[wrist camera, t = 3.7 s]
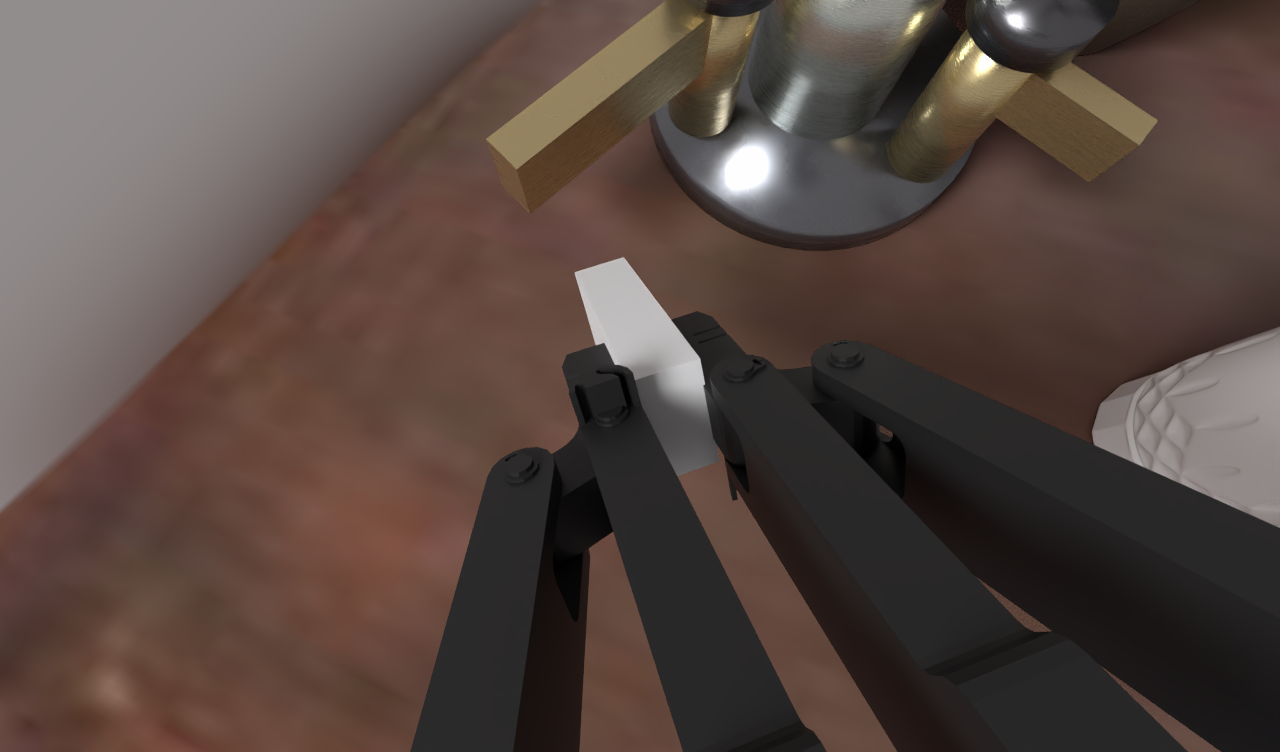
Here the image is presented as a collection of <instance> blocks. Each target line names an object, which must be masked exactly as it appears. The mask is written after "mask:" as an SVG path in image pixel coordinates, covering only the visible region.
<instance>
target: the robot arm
mask: <svg viewBox="0 0 1280 752" xmlns="http://www.w3.org/2000/svg"><path fill="white" fill-rule="evenodd" d="M575 275H576V279H577V282H578V286H579V289H580V292H581V296H582V299H583V303H584V306H585V309H586V313H587V316H588V320H589V323H590V327H591V330H592V333H593V337H594V340H595V344H596V346H593V347H590V348H586V349H583V350H580V351H577V352H574V353H571V354H568V355H567V356H566V358H565V361H564V363H563V366H562V369H563V372H564V375H565V378H566V381H567V385H568V388H569V395H570V398H571V401H572V404H573V407H574V410H575V413H576V416H577V419H578V422H579V427H578V431H577V433H576V434H575V436H574V437H573V439H572V440H571V441H570V442H569V443H568V444H567V445H565V446H564V447H562V448H561V449H559V450H558V451H556V452H554V453H553V454H551V453H550V452H549V451H548V450H546V449H542V448H538V447H533V448H524V449H521V450H517V451H514V452H512V453H510V454H508V455H507V456H505V457H503V458H502V459H500V460H499V461H498V462H497V463H496V464H495V465H494V466H493V467H492V469H491V471H490V473H489V475H488V477H487V481H486V484H485V488H484V491H483V495H482V498H481V502H480V505H479V509H478V513H477V516H476V520H475V523H474V527H473V530H472V534H471V538H470V541H469V545H468V548H467V552H466V555H465V559H464V563H463V566H462V570H461V573H460V577H459V580H458V584H457V588H456V591H455V595H454V598H453V602H452V605H451V609H450V612H449V616H448V620H447V623H446V627H445V630H444V634H443V637H442V641H441V645H440V648H439V652H438V655H437V659H436V662H435V666H434V670H433V673H432V677H431V680H430V684H429V687H428V691H427V695H426V698H425V702H424V705H423V709H422V712H421V716H420V719H419V723H418V727H417V730H416V734H415V737H414V741H413V744H412V748H411V752H579V745H580V727H581V709H582V692H583V674H584V656H585V638H586V621H587V603H588V585H589V567H590V553H589V548H590V547H591V546H593V545H594V544H595V543H597V542H598V541H600V540H601V539H603V538H604V537H606V536H607V535H609V534H610V533H612V532H614V535H615V538H616V541H617V545H618V548H619V551H620V554H621V557H622V560H623V563H624V567H625V570H626V573H627V576H628V579H629V582H630V586H631V589H632V592H633V595H634V598H635V601H636V604H637V608H638V611H639V614H640V617H641V620H642V623H643V627H644V630H645V633H646V636H647V639H648V642H649V645H650V649H651V652H652V655H653V658H654V661H655V664H656V668H657V671H658V674H659V677H660V680H661V683H662V686H663V690H664V693H665V696H666V699H667V702H668V705H669V708H670V712H671V715H672V718H673V721H674V724H675V727H676V731H677V734H678V737H679V740H680V743H681V746H682V749H683V752H826V750H825V748H824V746H823V745H822V743H821V741H820V740H819V739H818V737H817V736H816V735H815V733H814V732H813V731H812V730H810V729H808V728H806V727H805V726H804V724H803V723H802V722H801V720H800V718H799V716H798V715H797V713H796V711H795V709H794V707H793V705H792V703H791V701H790V699H789V697H788V695H787V693H786V691H785V689H784V687H783V685H782V683H781V681H780V679H779V677H778V675H777V673H776V671H775V669H774V667H773V665H772V663H771V661H770V659H769V657H768V655H767V653H766V651H765V649H764V648H763V646H762V644H761V642H760V640H759V638H758V636H757V634H756V632H755V630H754V628H753V626H752V624H751V622H750V620H749V618H748V616H747V614H746V612H745V610H744V608H743V606H742V604H741V602H740V600H739V598H738V596H737V594H736V592H735V590H734V588H733V586H732V584H731V582H730V580H729V578H728V576H727V574H726V572H725V570H724V568H723V566H722V564H721V562H720V560H719V558H718V556H717V554H716V552H715V550H714V548H713V546H712V544H711V542H710V540H709V538H708V536H707V534H706V532H705V530H704V528H703V526H702V524H701V522H700V521H699V519H698V517H697V515H696V513H695V511H694V509H693V507H692V505H691V503H690V501H689V499H688V497H687V495H686V493H685V491H684V489H683V487H682V485H681V483H680V481H679V479H678V477H677V476H679V475H682V474H685V473H687V472H690V471H693V470H696V469H699V468H702V467H704V466H707V465H710V464H713V463H716V462H719V456H718V451H717V445H718V447H719V448H720V450H721V451H722V453H723V455H724V458H725V464H726V469H727V475H728V480H729V486H730V491H731V496H732V499H733V501H734V500H737V499H738V498H737V493H736V490H738V492H739V494H740V495H741V497H742V499H743V500H744V502H745V503H746V505H747V507H748V508H749V510H750V512H751V513H752V515H753V516H754V518H755V520H756V521H757V523H758V525H759V526H760V528H761V530H762V531H763V533H764V534H765V536H766V538H767V539H768V541H769V543H770V544H771V546H772V548H773V549H774V551H775V552H776V554H777V556H778V557H779V559H780V561H781V562H782V564H783V565H784V567H785V569H786V570H787V572H788V574H789V575H790V577H791V579H792V580H793V582H794V583H795V585H796V587H797V588H798V590H799V592H800V593H801V595H802V597H803V598H804V600H805V601H806V603H807V605H808V606H809V608H810V610H811V611H812V613H813V614H814V616H815V618H816V619H817V621H818V623H819V624H820V626H821V628H822V629H823V631H824V632H825V634H826V636H827V637H828V639H829V641H830V642H831V644H832V646H833V647H834V649H835V650H836V652H837V654H838V655H839V657H840V659H841V660H842V662H843V663H844V665H845V667H846V668H847V670H848V672H849V673H850V675H851V677H852V678H853V680H854V681H855V683H856V685H857V686H858V688H859V690H860V691H861V693H862V695H863V696H864V698H865V699H866V701H867V703H868V704H869V706H870V708H871V709H872V711H873V712H874V714H875V716H876V717H877V719H878V721H879V722H880V724H881V726H882V727H883V729H884V730H885V732H886V734H887V735H888V737H889V739H890V740H891V742H892V744H893V745H894V747H895V748H896V750H897V752H1187V751H1186V750H1185V749H1184V748H1183V747H1182V746H1181V745H1180V744H1179V743H1178V742H1177V741H1176V740H1175V739H1174V738H1173V737H1172V736H1171V735H1170V734H1169V733H1168V732H1167V731H1166V730H1165V729H1164V728H1163V727H1162V726H1161V725H1160V724H1159V723H1158V722H1157V721H1156V720H1155V719H1154V718H1153V717H1152V716H1151V715H1150V714H1149V713H1148V712H1147V711H1146V710H1145V709H1144V708H1143V707H1142V706H1141V705H1140V704H1139V703H1137V702H1136V701H1135V700H1134V699H1133V698H1132V697H1131V696H1130V695H1129V694H1128V693H1127V692H1126V691H1125V690H1124V689H1123V688H1122V687H1121V686H1120V685H1119V684H1118V683H1117V682H1116V681H1115V680H1114V679H1113V678H1112V677H1111V676H1110V675H1109V674H1108V673H1107V672H1106V671H1105V670H1104V669H1103V668H1105V669H1106V670H1108V671H1109V672H1110V673H1112V674H1113V675H1115V676H1116V677H1117V678H1119V679H1120V680H1122V681H1123V682H1124V683H1126V684H1127V685H1129V686H1130V687H1131V688H1133V689H1134V690H1136V691H1137V692H1138V693H1140V694H1141V695H1143V696H1144V697H1145V698H1147V699H1148V700H1150V701H1151V702H1152V703H1154V704H1155V705H1157V706H1158V707H1159V708H1161V709H1162V710H1164V711H1165V712H1166V713H1168V714H1169V715H1171V716H1172V717H1173V718H1175V719H1176V720H1178V721H1179V722H1180V723H1182V724H1183V725H1185V726H1186V727H1187V728H1189V729H1190V730H1192V731H1193V732H1194V733H1196V734H1197V735H1199V736H1200V737H1201V738H1203V739H1204V740H1206V741H1207V742H1208V743H1210V744H1211V745H1213V746H1214V747H1215V748H1217V749H1218V750H1220V751H1221V752H1280V528H1279V527H1277V526H1275V525H1272V524H1270V523H1268V522H1266V521H1263V520H1261V519H1259V518H1257V517H1254V516H1252V515H1250V514H1248V513H1245V512H1243V511H1241V510H1239V509H1236V508H1234V507H1232V506H1230V505H1228V504H1225V503H1223V502H1221V501H1219V500H1216V499H1214V498H1212V497H1210V496H1207V495H1205V494H1203V493H1201V492H1198V491H1196V490H1194V489H1192V488H1189V487H1187V486H1185V485H1183V484H1181V483H1178V482H1176V481H1174V480H1172V479H1169V478H1167V477H1165V476H1163V475H1160V474H1158V473H1156V472H1154V471H1151V470H1149V469H1147V468H1145V467H1142V466H1140V465H1138V464H1136V463H1134V462H1131V461H1129V460H1127V459H1125V458H1122V457H1120V456H1118V455H1116V454H1113V453H1111V452H1109V451H1107V450H1104V449H1102V448H1100V447H1098V446H1095V445H1093V444H1091V443H1089V442H1086V441H1084V440H1082V439H1080V438H1078V437H1075V436H1073V435H1071V434H1069V433H1066V432H1064V431H1062V430H1060V429H1057V428H1055V427H1053V426H1051V425H1048V424H1046V423H1044V422H1042V421H1039V420H1037V419H1035V418H1033V417H1031V416H1028V415H1026V414H1024V413H1022V412H1019V411H1017V410H1015V409H1013V408H1010V407H1008V406H1006V405H1004V404H1001V403H999V402H997V401H995V400H992V399H990V398H988V397H986V396H984V395H981V394H979V393H977V392H975V391H972V390H970V389H968V388H966V387H963V386H961V385H959V384H957V383H954V382H952V381H950V380H948V379H945V378H943V377H941V376H939V375H937V374H934V373H932V372H930V371H928V370H925V369H923V368H921V367H919V366H916V365H914V364H912V363H910V362H907V361H905V360H903V359H901V358H898V357H896V356H894V355H892V354H890V353H887V352H885V351H883V350H881V349H878V348H876V347H874V346H872V345H869V344H866V343H862V342H859V341H847V340H844V341H836V342H832V343H829V344H826V345H824V346H821V347H820V348H819V349H818V350H816V351H815V352H814V354H813V356H812V358H811V362H812V366H811V367H804V368H796V369H785V370H778V369H776V368H775V367H774V366H773V365H772V364H771V363H770V362H769V361H767V360H766V359H764V358H763V357H758V356H754V355H746V353H745V352H744V351H743V350H742V349H741V348H740V347H739V346H738V345H737V344H736V342H735V341H734V340H733V339H732V338H731V337H730V336H729V335H727V333H726V332H725V330H724V329H723V328H722V327H720V325H719V324H718V323H717V322H716V321H715V319H714V318H713V317H711V316H709V315H706V314H703V313H701V312H698V311H697V312H694V313H690V314H687V315H684V316H681V317H678V318H675V319H672V320H671V319H670V318H669V317H668V315H667V314H666V313H665V311H664V310H663V309H662V307H661V306H660V305H659V303H658V302H657V301H656V299H655V298H654V297H653V295H652V294H651V293H650V291H649V290H648V289H647V288H646V286H645V285H644V284H643V282H642V281H641V280H640V278H639V277H638V276H637V274H636V273H635V272H634V270H633V269H632V268H631V266H630V265H629V264H628V262H627V261H626V260H625V258H624V257H623V258H620V259H616V260H613V261H610V262H607V263H603V264H600V265H597V266H593V267H590V268H587V269H584V270H580V271H577V272H575ZM880 425H881V426H883V427H885V428H886V429H888V430H890V431H891V432H893V437H892V438H891V437H889V436H887V435H885V434H883V433H881V432H880ZM716 444H717V445H716ZM974 575H975V576H976V577H977V578H979V579H980V580H982V581H983V582H984V583H986V584H987V585H989V586H990V587H991V588H993V589H994V590H996V591H997V592H998V593H1000V594H1001V595H1003V596H1004V597H1005V598H1007V599H1008V600H1010V601H1011V602H1012V603H1014V604H1015V605H1017V606H1018V607H1019V608H1021V609H1022V610H1024V611H1025V612H1026V613H1028V614H1029V615H1031V616H1032V617H1033V618H1035V619H1036V620H1038V621H1039V622H1040V623H1042V624H1043V625H1045V626H1046V627H1047V628H1049V629H1050V630H1052V631H1053V632H1033V631H1031V630H1029V629H1027V628H1026V627H1024V626H1023V625H1022V624H1021V623H1020V622H1019V621H1017V620H1016V619H1015V618H1014V617H1013V616H1012V614H1011V613H1010V612H1009V611H1008V610H1007V609H1006V608H1005V607H1004V606H1003V605H1002V604H1001V603H1000V602H999V601H998V600H997V599H996V598H995V597H994V596H993V595H992V594H991V593H990V591H989V590H988V589H987V588H986V587H985V586H984V585H983V584H982V583H981V582H980V581H979V580H978V579H977V578H976V577H975V576H974ZM1100 665H1101V666H1102V667H1103V668H1102V667H1101V666H1100Z"/></svg>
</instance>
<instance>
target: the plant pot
mask: <svg viewBox="0 0 1280 752" xmlns="http://www.w3.org/2000/svg"><path fill="white" fill-rule="evenodd" d="M1198 1H1200V0H1120V2H1119V6H1118V9H1117V12H1116V14H1115V16H1114V17H1113V18H1112V20H1111V21H1110V22H1109V23H1108V24H1107V25H1106V26H1105V27H1104V28H1103V29H1102V30H1101V31H1100V32H1099V33H1098V34H1097V36H1096V37H1095V38H1094V39H1093V40H1092V41H1091V42H1090V43H1089V44H1088V45H1087V46H1086V47H1085V48H1084V49H1083V50H1082V51H1081V52H1080V53H1079V54H1078V55H1087V54H1092V53H1095V52H1098V51H1101V50H1103V49H1105V48H1107V47H1110V46H1112V45H1114V44H1116V43H1118V42H1120V41H1122V40H1125V39H1127V38H1129V37H1131V36H1133V35H1135V34H1137V33H1139V32H1141V31H1143V30H1145V29H1147V28H1149V27H1151V26H1153V25H1155V24H1157V23H1159V22H1161V21H1163V20H1165V19H1166V18H1168V17H1170V16H1172V15H1174V14H1176V13H1178V12H1180V11H1181V10H1183V9H1185V8H1187V7H1189V6H1191V5H1193V4H1195V3H1196V2H1198Z"/></svg>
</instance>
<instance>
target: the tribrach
mask: <svg viewBox="0 0 1280 752" xmlns="http://www.w3.org/2000/svg"><path fill="white" fill-rule="evenodd" d="M946 1H947V0H774V1H773V2H772V3H771V4H770V5H768V6H767V7H765V8H764V9H762V10H760V13H759V17H758V21H757V24H756V28H755V32H754V36H753V39H752V43H751V47H750V51H749V54H748V58H747V62H746V66H745V69H744V73H743V77H742V81H741V84H740V88H739V92H738V96H737V99H736V103H735V107H734V111H733V114H732V118H731V121H730V122H729V124H728V126H727V127H726V128H725V129H724V130H723V131H721V132H720V133H718V134H716V135H713V136H710V137H694V136H690V135H687V134H685V133H683V132H682V131H680V130H679V129H678V128H677V127H676V126H675V125H674V124H673V123H672V121H671V119H670V116H669V113H668V103H669V101H668V102H667V103H666V104H664V105H663V106H662V107H661V108H659V109H658V110H657V111H656V112H655V113H653V114H652V115H651V116H650V124H651V130H652V134H653V137H654V140H655V143H656V147H657V149H658V152H659V154H660V156H661V158H662V160H663V162H664V164H665V166H666V168H667V169H668V171H669V172H670V174H671V175H672V177H673V178H674V180H675V181H676V183H677V184H678V185H679V186H680V187H681V189H682V190H683V191H684V192H685V193H686V194H687V196H688V197H689V198H690V199H691V200H692V201H694V202H695V203H696V204H697V205H698V206H699V207H700V208H701V209H702V210H704V211H705V212H706V213H707V214H709V215H710V216H712V217H713V218H715V219H716V220H718V221H719V222H720V223H722V224H724V225H725V226H727V227H729V228H731V229H733V230H735V231H737V232H739V233H741V234H743V235H745V236H748V237H750V238H753V239H756V240H758V241H761V242H764V243H768V244H772V245H776V246H780V247H783V248H791V249H798V250H813V251H828V250H837V249H846V248H851V247H856V246H860V245H864V244H868V243H871V242H873V241H876V240H878V239H881V238H884V237H886V236H888V235H890V234H892V233H894V232H896V231H897V230H899V229H901V228H903V227H905V226H906V225H907V224H909V223H910V222H911V221H913V220H914V219H915V218H917V217H918V216H919V215H920V214H921V213H922V212H923V211H924V210H925V209H926V208H927V207H928V206H929V205H930V204H931V203H932V202H933V201H934V200H935V199H936V198H937V197H938V196H939V195H940V194H941V193H942V192H943V191H944V190H945V189H946V188H947V187H948V186H949V184H950V183H951V182H952V181H953V180H954V179H955V178H956V176H957V175H958V173H959V172H960V171H961V169H962V168H963V166H964V165H965V163H966V161H967V159H968V157H969V155H970V153H971V151H972V149H973V147H974V144H975V141H976V140H977V139H978V138H979V137H980V136H981V135H982V134H983V132H984V131H985V130H986V129H987V128H988V127H989V126H990V125H991V124H992V123H993V122H994V120H995V119H996V118H998V119H999V120H1001V121H1002V122H1003V123H1005V124H1006V125H1008V126H1009V127H1011V128H1012V129H1013V130H1015V131H1016V132H1018V133H1019V134H1021V135H1022V136H1023V137H1025V138H1026V139H1028V140H1029V141H1031V142H1032V143H1033V144H1035V145H1036V146H1038V147H1039V148H1041V149H1042V150H1043V151H1045V152H1046V153H1048V154H1049V155H1051V156H1052V157H1053V158H1055V159H1056V160H1058V161H1059V162H1061V163H1062V164H1064V165H1065V166H1066V167H1068V168H1069V169H1071V170H1072V171H1074V172H1075V173H1076V174H1078V175H1079V176H1081V177H1082V178H1084V179H1085V180H1086V181H1088V182H1090V181H1092V180H1093V179H1094V178H1096V177H1097V176H1098V175H1100V174H1101V173H1102V172H1104V171H1105V170H1106V169H1108V168H1109V167H1111V166H1112V165H1113V164H1115V163H1116V162H1117V161H1119V160H1120V159H1121V158H1123V157H1124V156H1126V155H1127V154H1128V153H1130V152H1131V151H1132V150H1134V149H1135V148H1136V147H1138V146H1139V145H1140V144H1141V143H1142V141H1143V140H1144V139H1145V137H1146V136H1147V135H1148V133H1149V132H1150V131H1151V129H1152V128H1153V127H1154V125H1155V124H1156V123H1157V121H1158V120H1157V119H1155V118H1154V117H1152V116H1151V115H1149V114H1148V113H1146V112H1145V111H1143V110H1142V109H1140V108H1139V107H1137V106H1136V105H1134V104H1133V103H1131V102H1130V101H1128V100H1127V99H1125V98H1124V97H1122V96H1121V95H1119V94H1118V93H1116V92H1115V91H1113V90H1112V89H1110V88H1109V87H1107V86H1106V85H1104V84H1103V83H1101V82H1100V81H1098V80H1097V79H1095V78H1094V77H1092V76H1091V75H1089V74H1088V73H1086V72H1085V71H1083V70H1082V69H1080V68H1079V67H1077V66H1076V65H1074V64H1073V63H1071V61H1072V60H1073V59H1074V58H1075V57H1076V56H1077V55H1078V54H1079V53H1080V52H1081V51H1082V50H1083V49H1084V48H1085V47H1086V46H1087V45H1088V44H1089V43H1090V42H1091V41H1092V40H1093V39H1094V38H1095V37H1096V36H1097V34H1098V33H1099V32H1100V31H1101V30H1102V29H1103V28H1104V27H1105V26H1106V25H1107V24H1108V23H1109V22H1110V21H1111V20H1112V18H1113V17H1114V16H1115V14H1116V12H1117V9H1118V6H1119V2H1120V0H967V3H966V7H965V22H966V27H967V29H966V30H965V32H964V33H963V34H961V33H960V31H959V30H958V28H957V27H956V25H955V23H954V22H953V21H952V20H951V18H950V17H949V16H948V15H947V14H946V12H945V11H944V10H943V9H942V7H943V6H944V4H945V3H946Z"/></svg>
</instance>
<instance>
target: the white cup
mask: <svg viewBox="0 0 1280 752" xmlns="http://www.w3.org/2000/svg"><path fill="white" fill-rule="evenodd" d="M1092 437H1093V443H1094V445H1095V446H1098V447H1100V448H1102V449H1104V450H1107V451H1109V452H1111V453H1113V454H1116V455H1118V456H1120V457H1122V458H1125V459H1127V460H1129V461H1131V462H1134V463H1136V464H1138V465H1140V466H1142V467H1145V468H1147V469H1149V470H1151V471H1154V472H1156V473H1158V474H1160V475H1163V476H1165V477H1167V478H1169V479H1172V480H1174V481H1176V482H1178V483H1181V484H1183V485H1185V486H1187V487H1189V488H1192V489H1194V490H1196V491H1198V492H1201V493H1203V494H1205V495H1207V496H1210V497H1212V498H1214V499H1216V500H1219V501H1221V502H1223V503H1225V504H1228V505H1230V506H1232V507H1234V508H1236V509H1239V510H1241V511H1243V512H1245V513H1248V514H1250V515H1252V516H1254V517H1257V518H1259V519H1261V520H1263V521H1266V522H1268V523H1270V524H1272V525H1275V526H1277V527H1279V528H1280V326H1279V327H1276V328H1273V329H1270V330H1267V331H1264V332H1261V333H1259V334H1256V335H1253V336H1250V337H1247V338H1244V339H1241V340H1238V341H1235V342H1232V343H1229V344H1227V345H1224V346H1221V347H1218V348H1216V349H1213V350H1212V351H1209V352H1206V353H1203V354H1200V355H1197V356H1195V357H1192V358H1189V359H1187V360H1184V361H1181V362H1180V363H1178V364H1176V365H1174V366H1172V367H1170V368H1168V369H1166V370H1163V371H1160V372H1157V373H1155V374H1151V375H1148V376H1145V377H1142V378H1139V379H1136V380H1133V381H1130V382H1127V383H1124V384H1122V385H1120V386H1119V387H1118V388H1117V389H1116V390H1115V391H1114V392H1113V393H1111V394H1110V395H1109V396H1108V397H1107V398H1106V399H1105V400H1104V401H1103V402H1102V403H1101V404H1100V406H1099V409H1098V412H1097V416H1096V419H1095V422H1094V426H1093V429H1092Z"/></svg>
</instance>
